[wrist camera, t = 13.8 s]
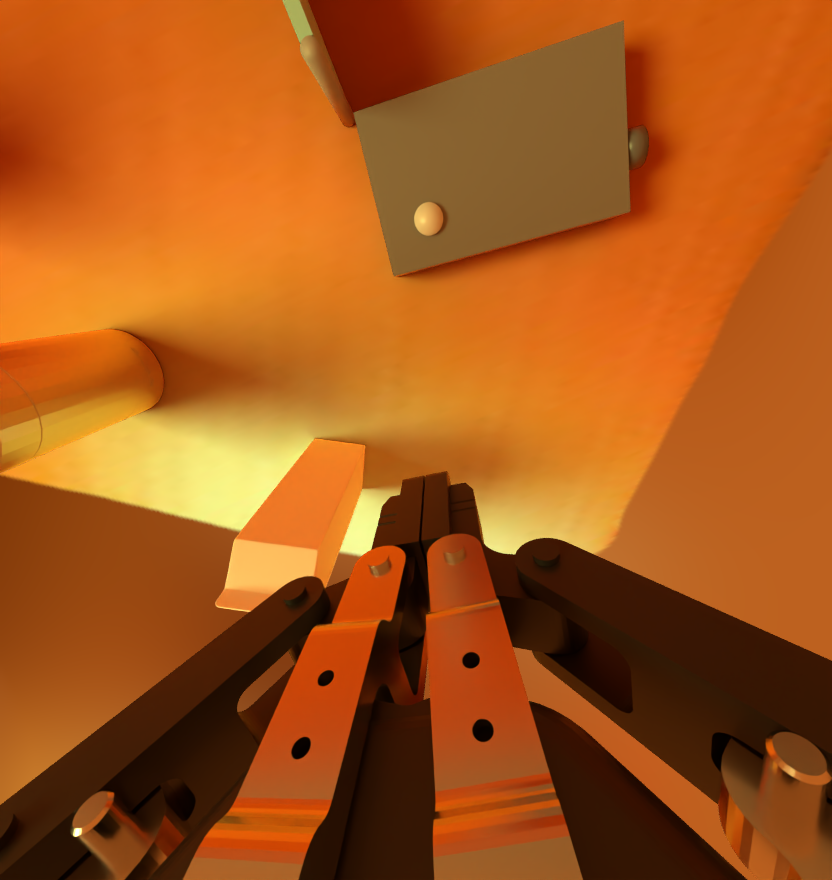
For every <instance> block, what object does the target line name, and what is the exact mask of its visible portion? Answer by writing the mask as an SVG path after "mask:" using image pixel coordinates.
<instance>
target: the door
mask: <svg viewBox="0 0 832 880" xmlns="http://www.w3.org/2000/svg"><path fill="white" fill-rule="evenodd" d="M283 3H284V5H285V7H286V10H287V12H288V15H289V17H290V20H291V22H292V25H293V27H294V30H295V32H296V35H297V37H298V39H299V42H300V51H301V54H302V56H303V58H304V60H305V61H306V63H307V65H308V66H309V68H310V70H311V71H312V73H313V75H314V76H315V78H316V80H317V81H318V83H319V85H320V86H321V88H322V90H323V91H324V93H325V95H326V96H327V98H328V100H329V101H330V103H331V105H332V106H333V108H334V110H335V111H336V113H337V115H338V117H339V118H340V120H341V122H342V123H343V125H344V126H346V127H351V126H352V125H353V124H354V122H355V117H354V113H353V111H352V109H351V107H350V105H349V103H348V101H347V99H346V97H345V95H344V92H343V90H342V87H341V84H340V82H339V79H338V77H337V74H336V72H335V69H334V66H333V64H332V61H331V59H330V56H329V54H328V51H327V48H326V46H325V43H324V41H323V38H322V36H321V33H320V30H319V28H318V25H317V23H316V20H315V18H314V15H313V12H312V10H311V7H310V5H309V2H308V0H283Z"/></svg>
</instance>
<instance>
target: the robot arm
mask: <svg viewBox="0 0 832 880" xmlns="http://www.w3.org/2000/svg"><path fill="white" fill-rule="evenodd" d="M163 389H164V378H163V372H162V369H161V367H160V364H159V362H158V360H157V359H156V357H155V355H154V354H153V353H152V351H151V350H150V349H149V348H148V347H147V346H146V345H145V344H144V343H143V342H141V341H140V340H139V339H137V338H136V337H134V336H132V335H131V334H128V333H126V332H123V331H120V330H114V329H104V330H96V331H89V332H82V333H74V334H66V335H59V336H52V337H44V338H37V339H30V340H23V341H16V342H9V343H1V344H0V473H3V472H5V471H7V470H9V469H12V468H14V467H16V466H19V465H21V464H23V463H26V462H27V461H30V460H32V459H34V458H37V457H39V456H41V455H44V454H46V453H48V452H50V451H53V450H55V449H57V448H60V447H62V446H64V445H67V444H69V443H71V442H74V441H76V440H78V439H81V438H83V437H85V436H87V435H90V434H92V433H94V432H97V431H99V430H101V429H104V428H106V427H108V426H111V425H113V424H115V423H118V422H120V421H122V420H125V419H127V418H129V417H132V416H134V415H136V414H139V413H141V412H143V411H146V410H148V409H149V408H151V407H153V406H154V405H155V404H156V403H157V402H158V401H159V399H160V398H161V396H162V392H163ZM428 612H430V613H428ZM513 647H516V648H521V649H527V650H532V652H533V655H534V657H535V658H536V659H537V661H538V662H539V663H540V664H542V665H543V666H544V667H545V668H547V669H548V670H549V671H550V672H552V673H553V674H554V675H555V676H557V677H558V678H559V679H560V680H562V681H563V682H564V683H565V684H567V685H568V686H569V687H571V688H572V689H573V690H574V691H576V692H577V693H578V694H579V695H581V696H582V697H583V698H584V699H586V700H587V701H588V702H589V703H591V704H592V705H593V706H595V707H596V708H597V709H599V710H600V711H601V712H602V713H603V714H605V715H606V716H607V717H608V718H610V719H611V720H612V721H614V722H615V723H616V724H617V725H618V726H620V727H621V728H622V729H624V730H625V731H626V732H627V733H629V734H630V735H631V736H632V737H634V738H635V739H636V740H637V741H639V742H640V743H641V744H643V745H644V746H645V747H646V748H647V749H649V750H650V751H651V752H653V753H654V754H655V755H656V756H658V757H659V758H660V759H661V760H663V761H664V762H665V763H666V764H668V765H669V766H670V767H672V768H673V769H674V770H675V771H677V772H678V773H679V774H680V775H682V776H683V777H684V778H685V779H687V780H688V781H689V782H691V783H692V784H693V785H694V786H695V787H697V788H698V789H699V790H701V791H702V792H703V793H704V794H706V795H707V796H708V797H709V798H711V799H712V800H713V801H714V802H716V803H717V804H718V810H719V818H720V822H721V826H722V828H723V831H724V833H725V836H726V838H727V840H728V841H729V843H730V845H731V847H732V849H733V850H734V852H735V853H736V855H737V856H738V857H739V859H740V860H741V861H742V863H743V864H744V865H745V866H746V867H747V869H748V870H749V871H750V872H751V873H752V874H753V875H754V876H755V877H756V878H757V879H758V880H832V661H831V660H829V659H827V658H824V657H822V656H820V655H818V654H815V653H813V652H811V651H809V650H806V649H804V648H802V647H800V646H797V645H795V644H793V643H791V642H788V641H786V640H784V639H782V638H780V637H777V636H775V635H773V634H770V633H768V632H766V631H764V630H762V629H759V628H757V627H755V626H753V625H750V624H748V623H746V622H744V621H741V620H739V619H737V618H735V617H733V616H730V615H728V614H726V613H723V612H721V611H719V610H716V609H715V608H712V607H710V606H708V605H706V604H703V603H701V602H699V601H697V600H694V599H692V598H690V597H688V596H685V595H683V594H681V593H679V592H677V591H674V590H672V589H670V588H667V587H665V586H663V585H661V584H659V583H656V582H654V581H652V580H650V579H648V578H645V577H643V576H641V575H638V574H636V573H634V572H632V571H630V570H627V569H625V568H623V567H621V566H618V565H616V564H614V563H611V562H609V561H607V560H605V559H603V558H600V557H598V556H596V555H594V554H592V553H589V552H587V551H585V550H583V549H580V548H578V547H576V546H574V545H571V544H569V543H567V542H565V541H562V540H558V539H553V538H540V539H535V540H532V541H529V542H527V543H525V544H524V545H522V546H521V547H520V548H519V549H518V550H517V552H516V554H515V555H513V554H503V553H499V552H496V551H493V550H491V549H489V548H488V547H487V546H486V545H485V544H484V540H483V534H482V528H481V524H480V519H479V515H478V510H477V505H476V501H475V496H474V492H473V489H472V488H471V487H470V486H469V485H467V484H466V483H461V484H455V485H451V483H450V479H449V475H448V472H447V471H446V472H441V473H435V474H430V475H426V477H425V476H420V477H415V478H410V479H405V480H403V482H402V488H401V493H400V495H398V496H393V497H390V498H389V499H388V500H387V502H386V503H385V504H384V505H383V506H382V510H381V514H380V518H379V522H378V526H377V530H376V534H375V538H374V542H373V545H372V549H371V550H370V551H368V552H367V553H365V554H364V555H363V556H361V557H360V558H359V560H358V561H357V562H356V564H355V566H354V568H353V571H352V573H351V576H350V578H348V579H346V580H344V581H342V582H339V583H337V584H335V585H332V586H329V587H327V588H325V587H324V585H323V582H322V581H321V580H320V579H319V578H317V577H314V576H304V577H300V578H297V579H295V580H292V581H290V582H289V583H287V584H285V585H284V586H283V587H281V588H280V589H279V590H277V591H276V592H275V593H273V594H272V595H271V596H270V597H268V598H267V599H266V600H264V601H263V602H262V603H261V604H259V605H258V606H257V607H255V608H254V609H253V610H251V611H250V612H249V613H248V614H246V615H245V616H244V617H242V618H241V619H240V620H239V621H237V622H236V623H235V624H233V625H232V626H231V627H230V628H228V629H227V630H226V631H224V632H223V633H222V634H221V635H219V636H218V637H217V638H215V639H214V640H213V641H212V642H210V643H209V644H208V645H207V646H205V647H204V648H203V649H201V650H200V651H199V652H197V653H196V654H195V655H194V656H192V657H191V658H190V659H188V660H187V661H186V662H184V663H183V664H182V665H181V666H179V667H178V668H177V669H175V670H174V671H173V672H172V673H170V674H169V675H168V676H166V677H165V678H164V679H163V680H161V681H160V682H159V683H157V684H156V685H155V686H153V687H152V688H151V689H150V690H148V691H147V692H146V693H144V694H143V695H142V696H140V697H139V698H138V699H137V700H136V701H134V702H133V703H131V704H130V705H129V706H128V707H126V708H125V709H124V710H122V711H121V712H120V713H119V714H118V715H116V716H115V717H113V718H112V719H111V720H110V721H108V722H107V723H106V724H104V725H103V726H102V727H100V728H99V729H98V730H97V731H95V732H94V733H93V734H91V735H90V736H89V737H88V738H86V739H85V740H84V741H82V742H81V743H80V744H79V745H77V746H76V747H75V748H73V749H72V750H71V751H70V752H68V753H67V754H66V755H64V756H63V757H62V758H61V759H59V760H58V761H57V762H55V763H54V764H53V765H51V766H50V767H49V768H48V769H46V770H45V771H44V772H42V773H41V774H40V775H39V776H37V777H36V778H35V779H33V780H32V781H31V782H30V783H28V784H27V785H26V786H24V787H23V788H22V789H20V790H19V791H18V792H17V793H15V794H14V795H13V796H11V797H10V798H9V799H8V800H6V801H5V802H4V803H2V804H1V805H0V880H747V879H746V878H745V877H744V876H742V874H740V873H739V872H738V871H737V870H736V869H735V868H734V867H733V866H732V865H731V864H729V862H727V861H726V860H725V859H724V858H723V857H722V856H721V855H720V854H719V853H718V852H717V851H716V850H714V849H713V848H712V847H711V846H710V845H709V844H708V843H707V842H706V841H705V840H704V839H702V838H701V837H700V836H699V835H698V834H697V833H696V832H695V831H694V830H693V829H692V828H690V827H689V826H688V825H687V824H686V823H685V822H684V821H683V820H682V819H681V818H679V816H677V815H676V814H675V813H674V812H673V811H672V810H671V809H670V808H669V807H668V806H667V805H666V804H664V803H663V802H662V801H661V800H660V799H659V798H658V797H657V796H656V795H655V794H654V793H652V792H651V791H650V790H649V789H648V788H647V787H646V786H645V785H644V784H643V783H642V782H641V781H639V780H638V779H637V778H636V777H635V776H634V775H633V774H632V773H631V772H630V771H629V770H627V769H626V768H625V767H624V766H623V765H622V764H621V763H620V762H619V761H617V759H615V758H614V757H613V756H612V755H611V754H610V753H609V752H608V751H607V750H605V748H604V747H602V746H601V745H600V744H599V743H598V742H597V741H596V740H595V739H594V738H593V737H592V736H590V735H589V734H588V733H587V732H586V731H585V730H583V729H582V728H581V727H580V726H578V725H577V724H576V723H574V722H573V721H572V720H570V719H568V718H567V717H565V716H564V715H562V714H560V713H558V712H556V711H555V710H552V709H550V708H548V707H545V706H543V705H541V704H538V703H534V702H531V701H528V698H527V694H526V691H525V687H524V684H523V681H522V677H521V674H520V671H519V667H518V663H517V660H516V657H515V653H514V650H513ZM287 651H288V652H289V654H290V656H291V658H292V660H293V662H294V663H295V665H294V666H293V667H292V668H290V669H289V670H288V671H287V672H286V673H285V674H284V675H283V676H282V677H281V678H280V679H279V680H278V681H277V682H276V683H275V684H274V685H273V686H272V687H270V688H269V689H268V690H267V691H266V692H265V693H264V694H263V695H262V696H261V697H260V698H259V699H258V700H257V701H256V702H255V703H254V704H253V705H251V706H250V707H249V708H248V709H246V710H244V711H242V712H237V704H238V701H239V698H240V696H241V695H242V693H243V692H244V691H245V690H246V689H247V688H248V687H249V686H250V685H251V684H252V683H253V682H254V681H255V680H256V679H258V678H259V677H260V676H261V675H262V674H263V673H264V672H265V671H266V670H267V669H268V668H270V667H271V666H272V665H273V664H274V663H275V662H276V661H277V660H278V659H280V658H281V657H282V656H283V655H284V654H285V653H286V652H287ZM427 664H428V666H429V686H430V698H428V699H426V700H424V693H425V683H426V674H427Z"/></svg>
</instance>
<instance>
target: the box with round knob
mask: <svg viewBox="0 0 832 880" xmlns="http://www.w3.org/2000/svg"><path fill="white" fill-rule="evenodd" d="M353 113H354V117H355V121H356V125H357V129H358V133H359V137H360V141H361V146H362V150H363V154H364V158H365V162H366V166H367V170H368V174H369V178H370V182H371V186H372V190H373V194H374V198H375V202H376V206H377V210H378V214H379V218H380V222H381V227H382V231H383V235H384V239H385V243H386V247H387V251H388V255H389V259H390V263H391V267H392V271H393V275H394V276H395V277H399V276H403V275H407V274H410V273H414V272H418V271H421V270H425V269H429V268H432V267H436V266H440V265H443V264H447V263H451V262H454V261H458V260H462V259H465V258H469V257H473V256H476V255H480V254H484V253H487V252H491V251H495V250H498V249H502V248H506V247H509V246H513V245H517V244H520V243H524V242H528V241H531V240H535V239H539V238H542V237H546V236H550V235H553V234H557V233H561V232H565V231H568V230H572V229H576V228H579V227H583V226H587V225H590V224H594V223H598V222H601V221H605V220H609V219H612V218H615V217H618V216H620V215H623V214H626V213H628V212H630V184H629V170H633V169H636V168H639V167H641V166H642V165H643V164H644V162H645V160H646V157H647V153H648V147H649V137H648V132H647V129H646V127H645V126H644V125H640V126H637V127H633V128H630V129H627V101H626V73H625V45H624V20H623V21H621V22H618V23H615V24H612V25H609V26H606V27H603V28H600V29H597V30H594V31H591V32H588V33H585V34H582V35H579V36H576V37H574V38H571V39H568V40H565V41H562V42H559V43H556V44H553V45H550V46H547V47H544V48H541V49H538V50H535V51H532V52H530V53H527V54H524V55H521V56H518V57H515V58H512V59H509V60H506V61H503V62H500V63H497V64H494V65H491V66H488V67H485V68H483V69H480V70H477V71H474V72H471V73H468V74H465V75H462V76H459V77H456V78H453V79H450V80H447V81H444V82H441V83H438V84H436V85H433V86H430V87H427V88H424V89H421V90H418V91H415V92H412V93H409V94H406V95H403V96H400V97H397V98H394V99H391V100H389V101H386V102H383V103H380V104H377V105H374V106H371V107H368V108H365V109H362V110H359V111H356V112H353Z"/></svg>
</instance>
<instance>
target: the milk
mask: <svg viewBox="0 0 832 880" xmlns="http://www.w3.org/2000/svg"><path fill="white" fill-rule="evenodd" d="M364 458H365V445H361V444H354V443H346V442H339V441H331V440H323V439H314V440H313V441H312V443H311V444H310V445H309V446H308V448H307V449H306V450H305V451H304V453H303V454H302V455H301V456H300V458H299V459H298V460H297V461H296V463H295V464H294V465H293V466H292V468H291V469H290V470H289V471H288V473H287V474H286V475H285V476H284V478H283V479H282V480H281V481H280V483H279V484H278V485H277V487H276V488H275V489H274V490H273V492H272V493H271V494H270V495H269V497H268V498H267V499H266V500H265V502H264V503H263V504H262V505H261V507H260V508H259V509H258V510H257V512H256V513H255V514H254V515H253V517H252V518H251V519H250V520H249V522H248V523H247V524H246V525H245V527H244V528H243V529H242V530H241V532H240V533H239V534H238V536H237V537H236V538H235V540H234V544H233V549H232V554H231V559H230V564H229V570H228V575H227V580H226V585H225V589H224V590H223V592H222V594H221V595H220V596H219V598H218V599H217V601H216V603H215V604H216V606H217V607H219V608H225V609H232V610H240V611H247V612H250V611H251V610H253V609H254V608H255V607H257V606H258V605H259V604H261V603H262V602H263V601H264V600H266V599H267V598H268V597H270V596H271V595H272V594H273V593H275V592H276V591H277V590H279V589H280V588H281V587H283V586H284V585H285V584H287V583H289V582H290V581H292V580H295V579H297V578H300V577H304V576H314V577H317V578H319V579H320V580H321V581H322V582H323V585H324V587H325V588H326V585H327V583H328V580H329V578H330V575H331V572H332V569H333V567H334V564H335V561H336V558H337V556H338V553H339V551H340V548H341V545H342V542H343V540H344V537H345V534H346V532H347V529H348V526H349V523H350V521H351V518H352V515H353V513H354V510H355V507H356V505H357V502H358V499H359V496H360V494H361V491H362V485H363V471H364Z"/></svg>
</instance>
